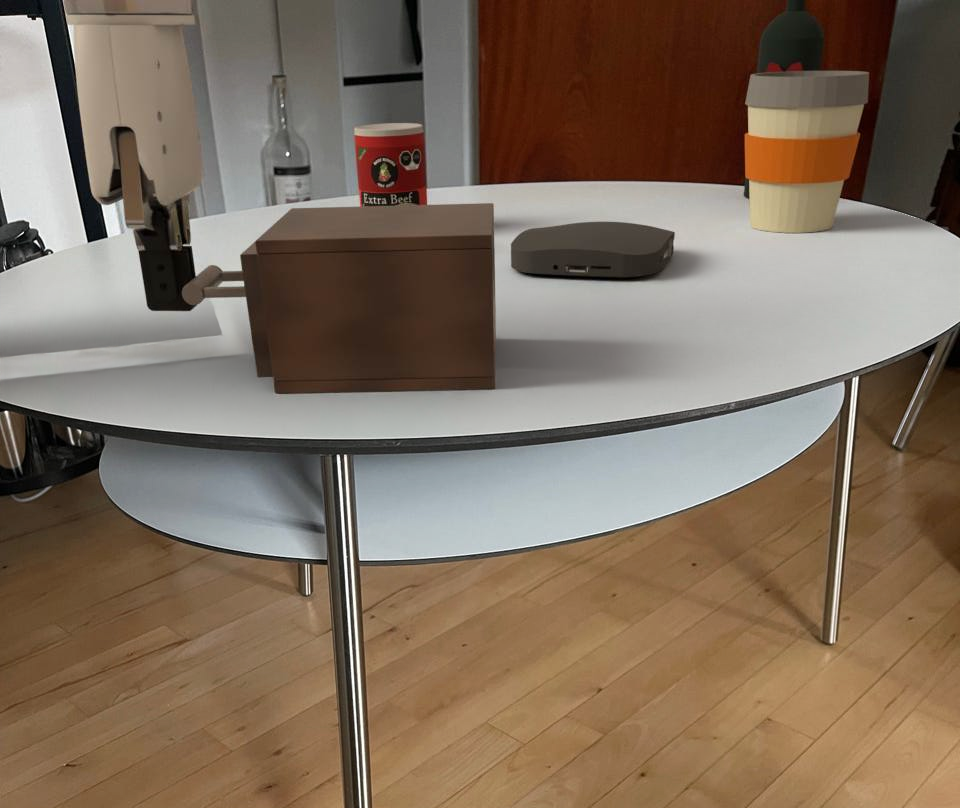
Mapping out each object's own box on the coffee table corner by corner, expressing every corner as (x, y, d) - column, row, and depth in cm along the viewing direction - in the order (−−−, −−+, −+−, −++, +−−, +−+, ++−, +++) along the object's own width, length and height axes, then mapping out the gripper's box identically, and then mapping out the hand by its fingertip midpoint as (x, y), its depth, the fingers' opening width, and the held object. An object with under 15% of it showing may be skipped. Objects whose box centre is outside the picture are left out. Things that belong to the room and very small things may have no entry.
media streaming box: (540, 246, 108) (540, 216, 107) (679, 251, 104) (681, 220, 103) (500, 276, 97) (500, 243, 95) (655, 283, 93) (657, 248, 91)
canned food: (355, 238, 116) (346, 130, 110) (371, 226, 122) (363, 123, 117) (421, 238, 115) (416, 129, 109) (434, 225, 121) (429, 122, 116)
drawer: (184, 379, 68) (161, 256, 64) (224, 334, 78) (207, 224, 74) (459, 373, 68) (455, 249, 63) (465, 328, 77) (461, 218, 73)
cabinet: (275, 393, 68) (254, 240, 63) (306, 342, 79) (290, 208, 74) (494, 389, 67) (491, 234, 62) (496, 337, 78) (493, 202, 73)
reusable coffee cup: (735, 235, 111) (750, 78, 103) (731, 216, 122) (745, 72, 114) (856, 235, 109) (880, 75, 101) (842, 216, 119) (863, 69, 112)
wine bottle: (736, 202, 130) (763, -86, 115) (748, 190, 138) (775, -80, 123) (799, 204, 128) (837, -90, 112) (808, 192, 136) (844, -84, 120)
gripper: (107, -1, 68) (151, 284, 78) (16, -6, 55) (83, 336, 65) (219, 0, 68) (250, 285, 78) (154, -5, 55) (200, 337, 65)
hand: (174, 307), depth 71 cm, fingers closed
